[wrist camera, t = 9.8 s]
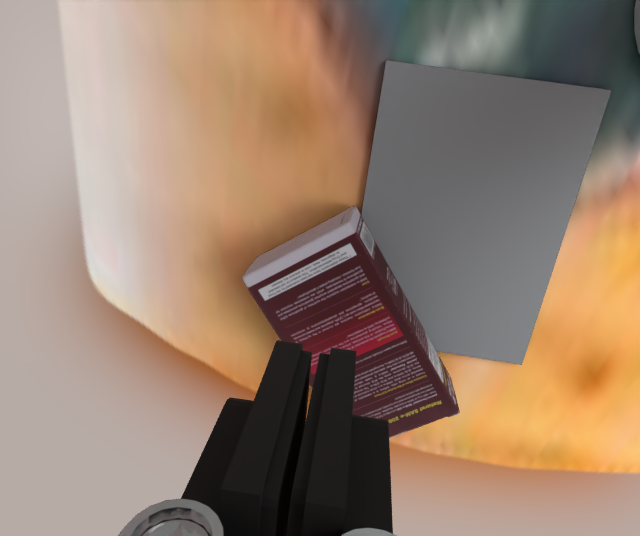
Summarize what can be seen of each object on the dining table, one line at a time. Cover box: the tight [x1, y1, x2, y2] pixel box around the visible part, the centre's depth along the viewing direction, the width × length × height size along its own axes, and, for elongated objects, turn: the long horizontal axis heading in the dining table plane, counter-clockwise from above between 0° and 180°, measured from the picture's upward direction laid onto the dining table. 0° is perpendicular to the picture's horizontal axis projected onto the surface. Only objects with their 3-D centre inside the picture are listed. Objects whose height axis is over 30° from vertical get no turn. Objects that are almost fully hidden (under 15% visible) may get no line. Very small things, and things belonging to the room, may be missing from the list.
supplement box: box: [242, 206, 460, 438], centre depth 35 cm, size 9×5×16 cm
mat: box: [361, 60, 611, 365], centre depth 34 cm, size 14×20×1 cm
